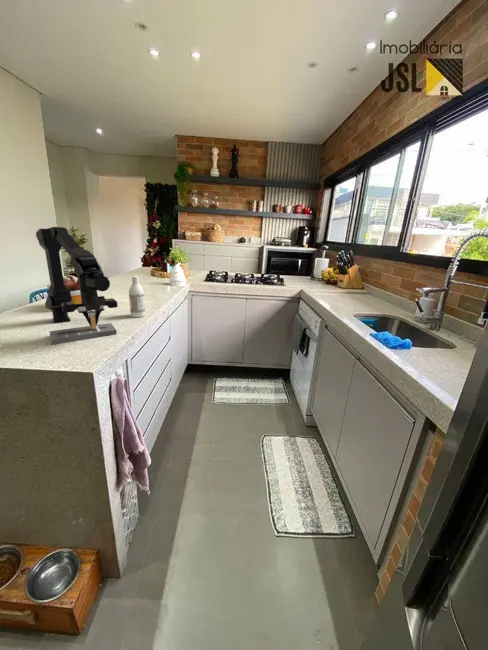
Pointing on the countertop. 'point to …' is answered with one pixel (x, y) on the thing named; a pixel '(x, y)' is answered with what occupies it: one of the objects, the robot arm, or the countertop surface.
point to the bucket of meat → (72, 288)
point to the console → (81, 333)
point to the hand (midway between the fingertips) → (93, 325)
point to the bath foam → (136, 298)
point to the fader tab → (92, 319)
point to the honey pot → (177, 276)
